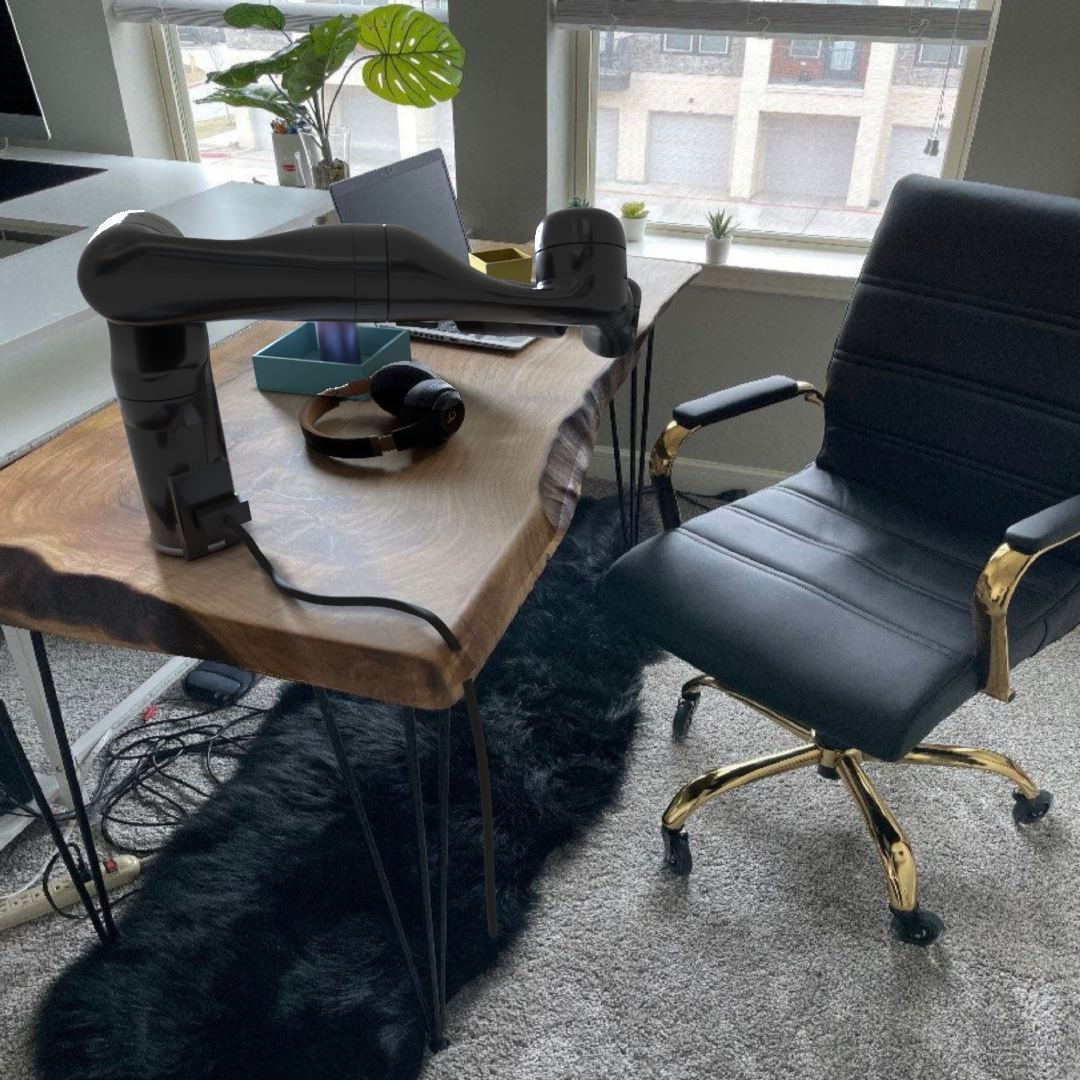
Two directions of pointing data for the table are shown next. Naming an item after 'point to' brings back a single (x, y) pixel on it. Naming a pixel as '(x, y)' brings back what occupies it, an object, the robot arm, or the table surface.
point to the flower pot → (504, 264)
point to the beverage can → (338, 342)
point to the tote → (302, 372)
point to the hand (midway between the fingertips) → (384, 299)
